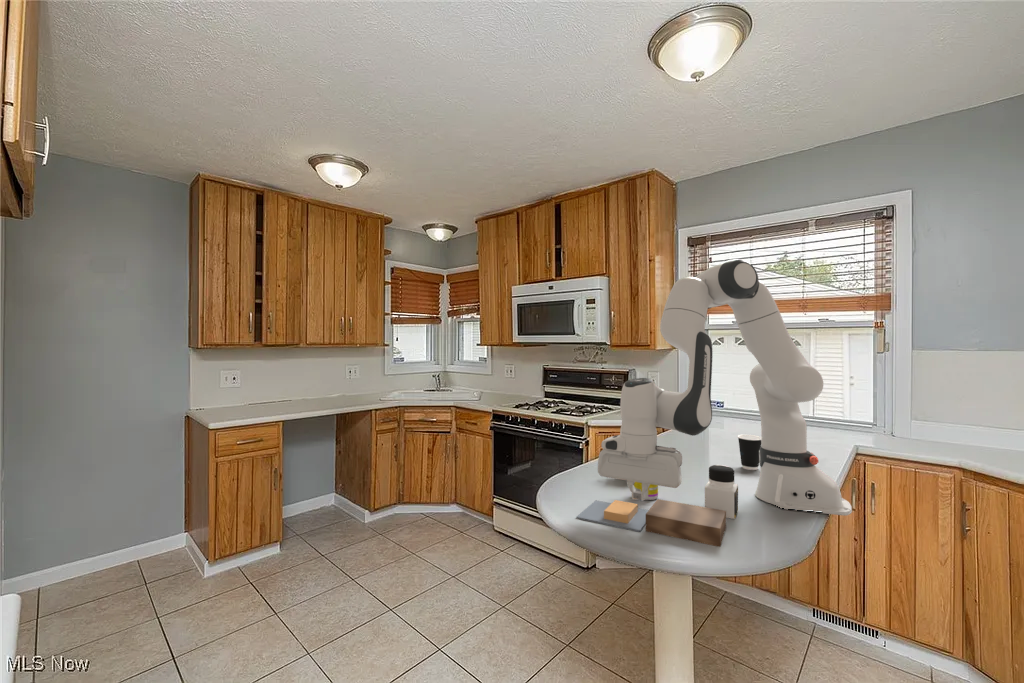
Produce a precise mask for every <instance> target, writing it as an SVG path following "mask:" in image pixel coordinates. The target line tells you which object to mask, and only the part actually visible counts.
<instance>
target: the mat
mask: <svg viewBox="0 0 1024 683" xmlns="http://www.w3.org/2000/svg"><path fill="white" fill-rule="evenodd" d="M612 503H613V502H608V501H604V500H603V501H602V500H597V499H596V500H594V501H593V502H592V503H591V504H589V505H588V506H587V507H586V508H585V509H583V510H582V511H581V512H580V513H579V514H578V515H577V516H575V517H576V519H577V518H578V520H582V521H588V522H591V523H597V524H601V525H606V526H610V527H615V528H620V529H624V530H629V531H635V532H639V533H641V532H642V530H643V529H644V528H645V527H646V513H647V512H648V511H649V509H645V508H641V507H640V508H639V507H638V512H637V513H636V514H635V516H634V517H633V518H632V519H631V520H630V522H629V523H623V522H618V521H613V520H608V519H604V510H605V509H606V508H607V507H608V506H609V505H611V504H612Z"/></svg>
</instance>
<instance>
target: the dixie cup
mask: <svg viewBox="0 0 1024 683" xmlns="http://www.w3.org/2000/svg"><path fill="white" fill-rule="evenodd" d="M737 438H738V446H739V454H740V463H741V464H740V465H741V466H742V467H741V468H742V469H744V470H749V471H757V470H758V468H759V467H760V463H759V450H760V446H761V436H758V435H753V434H738V435H737Z"/></svg>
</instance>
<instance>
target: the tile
mask: <svg viewBox="0 0 1024 683" xmlns="http://www.w3.org/2000/svg"><path fill="white" fill-rule="evenodd" d="M611 503H612V504H611V505H609V506H608V507H607V508H606V509H605V510H604V519H608V520H613V521H618V522H623V523H629V522H630V520H631V519H632V518H633V517H634V516H635V514H636V513H637V512H638V508H639V505H638V503H633V502H629V501H622V500H618V499H614V500H613V502H611Z"/></svg>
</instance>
